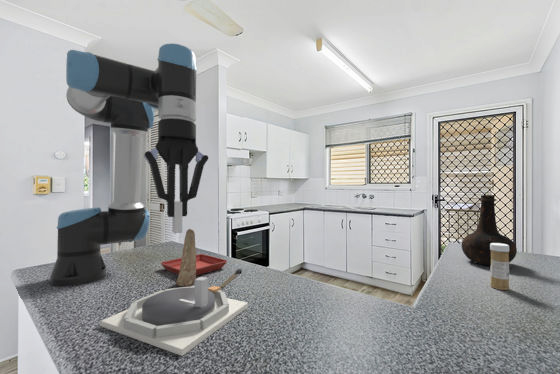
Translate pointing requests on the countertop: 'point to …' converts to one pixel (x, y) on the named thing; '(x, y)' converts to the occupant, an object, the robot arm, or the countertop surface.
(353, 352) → the countertop surface
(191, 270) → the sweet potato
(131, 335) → the panel
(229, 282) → the tomahawk
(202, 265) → the plant saucer
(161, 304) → the dial
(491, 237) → the dark brown vase
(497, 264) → the sprinkles bottle
